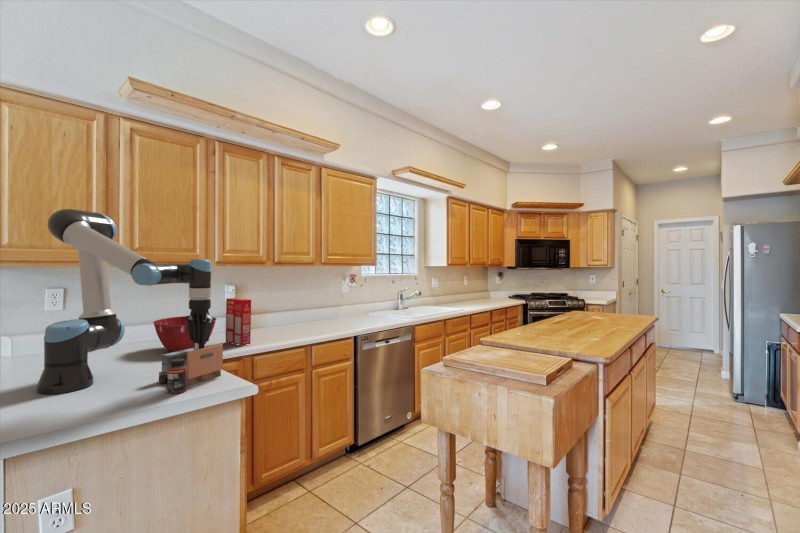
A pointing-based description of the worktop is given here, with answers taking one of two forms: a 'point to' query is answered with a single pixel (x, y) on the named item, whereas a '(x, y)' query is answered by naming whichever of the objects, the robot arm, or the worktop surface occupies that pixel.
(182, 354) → the flatbed
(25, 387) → the worktop surface
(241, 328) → the food packaging
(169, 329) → the mixing bowl
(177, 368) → the supplement bottle
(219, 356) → the tailgate
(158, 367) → the worktop surface
